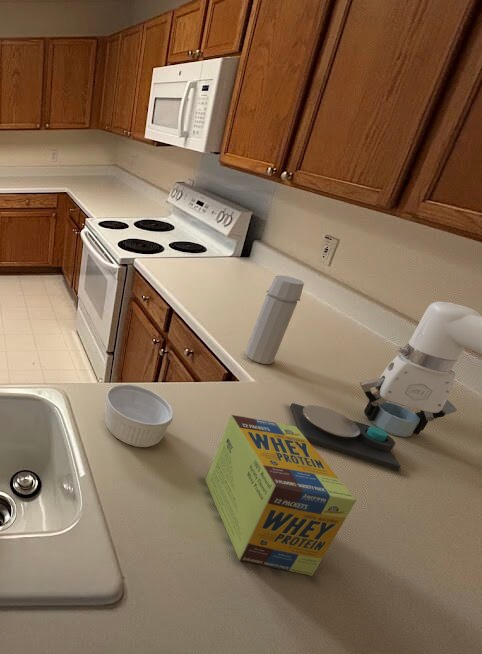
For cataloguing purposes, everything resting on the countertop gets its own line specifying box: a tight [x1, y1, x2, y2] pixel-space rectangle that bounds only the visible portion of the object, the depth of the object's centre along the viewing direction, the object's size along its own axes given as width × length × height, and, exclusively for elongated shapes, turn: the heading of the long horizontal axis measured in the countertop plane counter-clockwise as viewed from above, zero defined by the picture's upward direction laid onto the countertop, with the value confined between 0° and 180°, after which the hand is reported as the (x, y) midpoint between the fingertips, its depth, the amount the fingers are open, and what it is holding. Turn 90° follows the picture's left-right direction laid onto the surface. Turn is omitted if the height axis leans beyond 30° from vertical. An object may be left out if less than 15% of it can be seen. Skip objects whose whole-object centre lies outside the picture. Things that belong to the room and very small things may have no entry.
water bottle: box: [244, 274, 305, 365], centre depth 116 cm, size 9×8×25 cm
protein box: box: [204, 414, 357, 577], centre depth 65 cm, size 10×15×16 cm
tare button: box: [367, 425, 389, 442], centre depth 87 cm, size 3×3×2 cm
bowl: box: [370, 401, 420, 438], centre depth 94 cm, size 7×7×5 cm
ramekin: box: [104, 383, 174, 448], centre depth 86 cm, size 13×13×7 cm
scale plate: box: [303, 404, 360, 438], centre depth 90 cm, size 10×10×1 cm
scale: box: [289, 402, 401, 472], centre depth 90 cm, size 16×13×3 cm
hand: (390, 423), depth 94 cm, fingers closed on bowl, 7 cm apart
